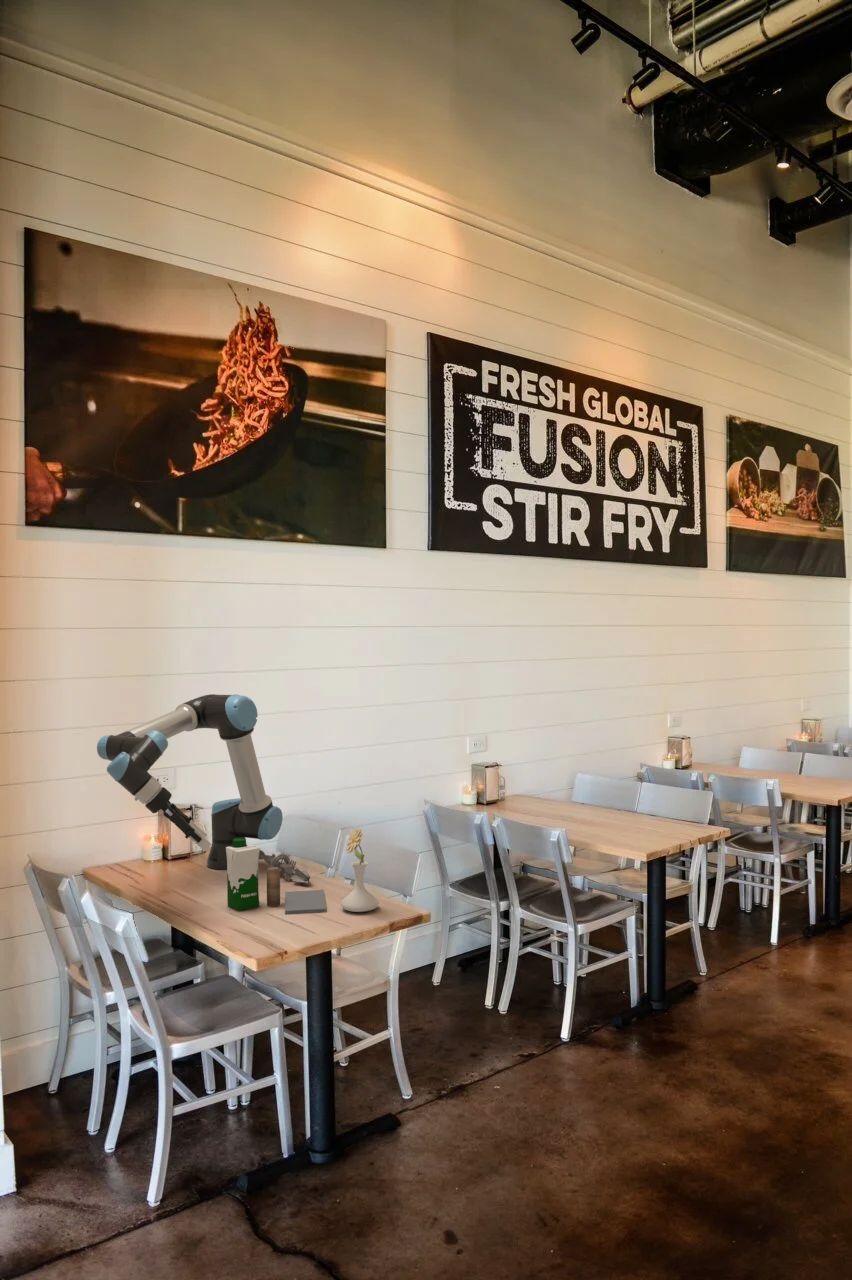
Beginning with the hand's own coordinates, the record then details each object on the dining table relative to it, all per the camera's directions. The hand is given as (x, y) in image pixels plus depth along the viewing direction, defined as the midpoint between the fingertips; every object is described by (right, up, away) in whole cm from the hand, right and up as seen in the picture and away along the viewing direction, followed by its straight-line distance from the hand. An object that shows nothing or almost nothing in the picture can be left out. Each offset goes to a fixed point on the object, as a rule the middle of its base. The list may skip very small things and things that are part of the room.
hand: (206, 842), depth 269 cm
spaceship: (+16, -20, +37) cm, 45 cm away
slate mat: (+29, -20, +7) cm, 36 cm away
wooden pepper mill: (+19, -20, +5) cm, 28 cm away
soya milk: (+10, -20, +4) cm, 23 cm away
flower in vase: (+46, -20, -1) cm, 50 cm away
